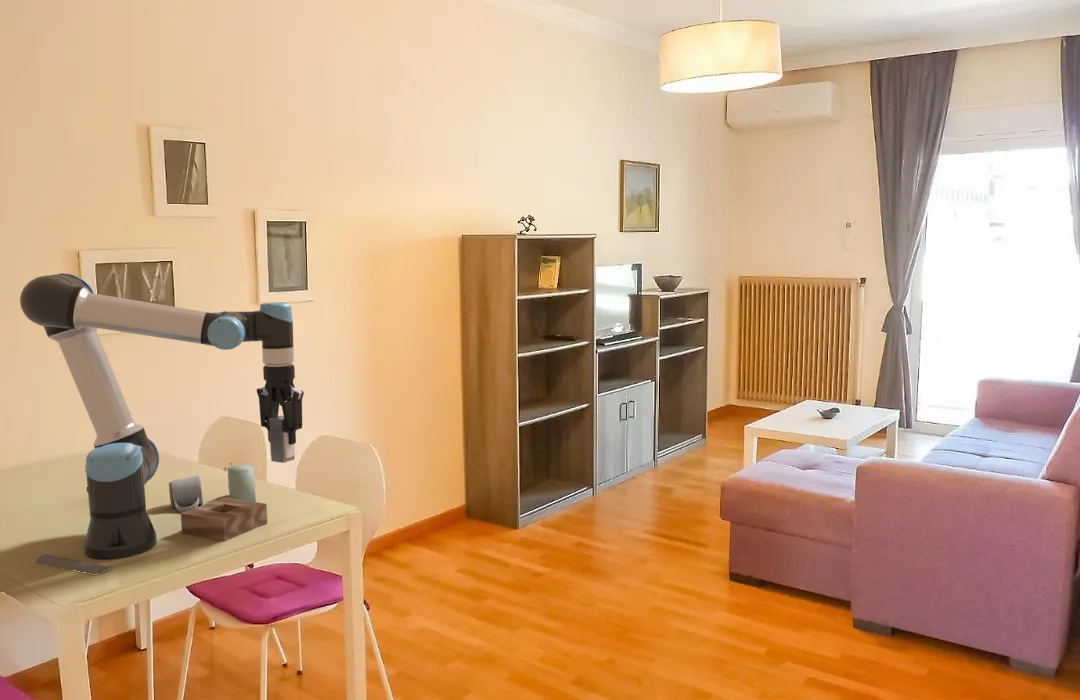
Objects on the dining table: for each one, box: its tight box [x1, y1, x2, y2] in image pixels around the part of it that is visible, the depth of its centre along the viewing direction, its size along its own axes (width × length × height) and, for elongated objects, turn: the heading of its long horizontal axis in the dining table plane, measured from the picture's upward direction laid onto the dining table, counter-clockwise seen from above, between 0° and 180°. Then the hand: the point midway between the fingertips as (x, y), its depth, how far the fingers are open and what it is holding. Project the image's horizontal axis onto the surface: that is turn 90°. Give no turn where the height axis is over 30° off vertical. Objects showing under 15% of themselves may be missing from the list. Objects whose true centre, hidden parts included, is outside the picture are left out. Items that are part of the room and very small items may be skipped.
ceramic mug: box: [168, 474, 204, 513], centre depth 231 cm, size 11×8×8 cm
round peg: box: [227, 464, 257, 502], centre depth 229 cm, size 6×6×11 cm
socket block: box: [180, 497, 268, 542], centre depth 213 cm, size 14×14×5 cm
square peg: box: [269, 415, 296, 464], centre depth 219 cm, size 4×4×11 cm
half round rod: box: [35, 553, 111, 575], centre depth 190 cm, size 4×20×2 cm, turn 65°
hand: (282, 455), depth 220 cm, fingers closed on square peg, 4 cm apart
